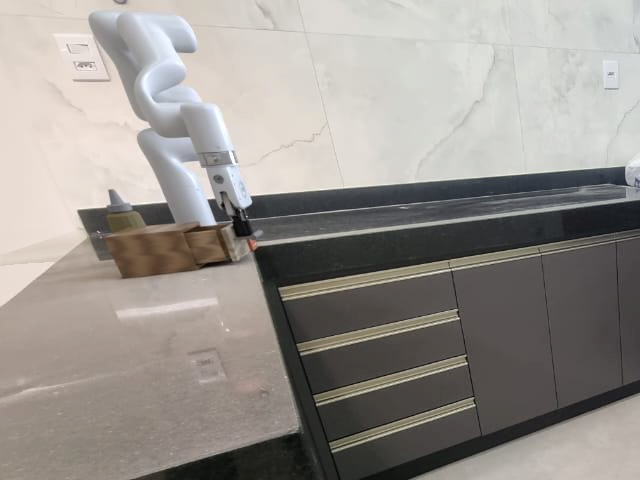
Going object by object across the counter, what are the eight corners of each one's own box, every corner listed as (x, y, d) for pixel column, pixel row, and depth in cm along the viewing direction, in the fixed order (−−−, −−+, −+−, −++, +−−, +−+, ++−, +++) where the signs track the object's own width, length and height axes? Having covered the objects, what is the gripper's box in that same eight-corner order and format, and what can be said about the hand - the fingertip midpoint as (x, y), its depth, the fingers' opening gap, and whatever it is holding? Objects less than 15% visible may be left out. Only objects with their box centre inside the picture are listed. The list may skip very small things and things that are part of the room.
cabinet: (214, 258, 138) (199, 221, 134) (197, 269, 128) (180, 230, 124) (146, 265, 134) (128, 227, 130) (122, 278, 123) (102, 237, 119)
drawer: (271, 248, 142) (261, 219, 138) (260, 258, 132) (249, 226, 129) (189, 257, 136) (177, 227, 133) (172, 268, 126) (158, 235, 123)
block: (238, 249, 147) (232, 232, 145) (257, 247, 148) (252, 230, 146) (234, 252, 143) (227, 235, 141) (253, 250, 145) (247, 233, 143)
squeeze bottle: (139, 264, 136) (106, 191, 128) (115, 263, 137) (80, 192, 130) (170, 256, 143) (140, 186, 135) (146, 255, 144) (115, 187, 137)
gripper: (227, 161, 121) (255, 241, 129) (245, 156, 133) (269, 229, 142) (188, 163, 119) (219, 244, 127) (210, 158, 131) (237, 232, 139)
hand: (246, 236), depth 134 cm, fingers closed
